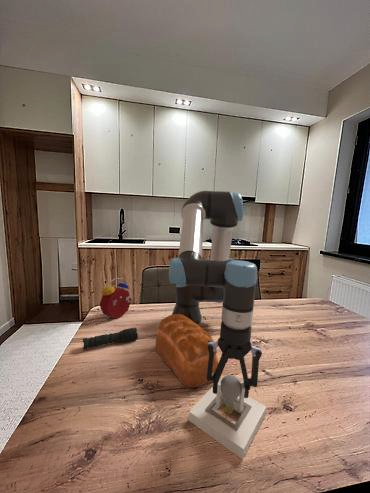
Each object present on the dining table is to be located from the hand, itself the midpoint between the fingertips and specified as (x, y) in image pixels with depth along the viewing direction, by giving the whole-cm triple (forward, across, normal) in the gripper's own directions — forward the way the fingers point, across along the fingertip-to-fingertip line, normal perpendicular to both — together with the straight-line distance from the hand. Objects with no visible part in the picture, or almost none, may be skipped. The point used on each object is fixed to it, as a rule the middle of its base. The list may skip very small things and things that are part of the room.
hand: (228, 405), depth 62 cm
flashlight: (+4, -45, +26) cm, 52 cm away
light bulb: (+2, 0, 0) cm, 2 cm away
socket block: (+4, 0, 0) cm, 4 cm away
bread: (+4, -15, +21) cm, 26 cm away
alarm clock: (+4, -52, +49) cm, 72 cm away
